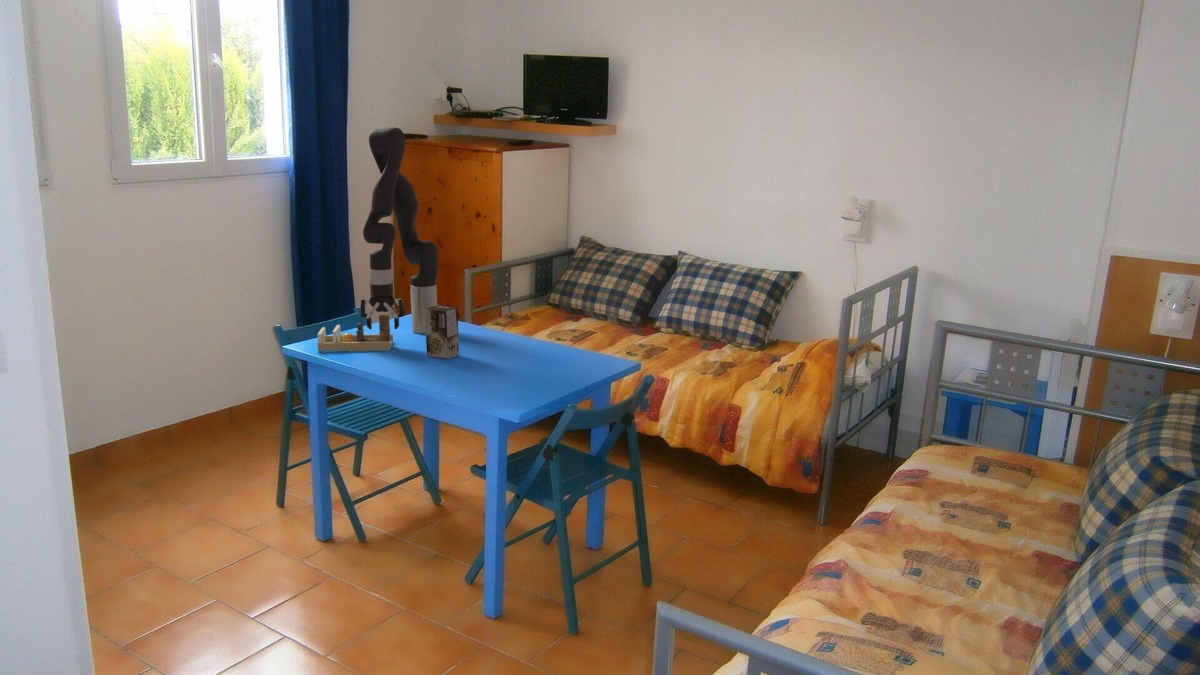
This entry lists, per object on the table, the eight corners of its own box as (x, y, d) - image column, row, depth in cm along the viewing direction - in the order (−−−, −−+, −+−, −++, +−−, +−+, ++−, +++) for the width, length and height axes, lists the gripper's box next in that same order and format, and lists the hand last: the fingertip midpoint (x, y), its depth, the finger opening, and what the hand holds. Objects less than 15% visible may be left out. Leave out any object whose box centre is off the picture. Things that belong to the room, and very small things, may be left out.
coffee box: (459, 355, 310) (458, 307, 306) (448, 359, 304) (446, 310, 301) (437, 351, 314) (435, 304, 310) (425, 356, 308) (423, 308, 305)
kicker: (390, 340, 323) (389, 313, 321) (388, 344, 317) (387, 316, 315) (358, 340, 322) (357, 313, 320) (356, 345, 316) (354, 317, 314)
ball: (354, 342, 321) (354, 331, 320) (353, 345, 317) (352, 334, 316) (342, 343, 320) (342, 331, 319) (341, 346, 317) (340, 334, 316)
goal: (341, 341, 323) (340, 324, 322) (336, 348, 314) (335, 331, 312) (323, 341, 323) (322, 325, 321) (318, 348, 313) (317, 331, 312)
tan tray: (393, 342, 326) (392, 333, 325) (389, 350, 315) (389, 341, 314) (323, 343, 323) (323, 335, 323) (318, 352, 312) (317, 343, 312)
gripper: (403, 280, 320) (405, 326, 323) (361, 280, 318) (363, 326, 322) (401, 283, 312) (403, 331, 316) (358, 283, 311) (360, 331, 314)
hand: (383, 328), depth 319 cm, fingers open, 8 cm apart
